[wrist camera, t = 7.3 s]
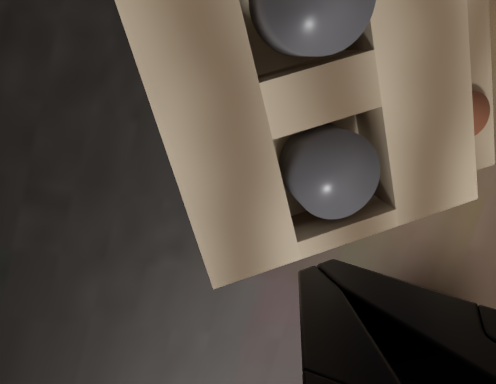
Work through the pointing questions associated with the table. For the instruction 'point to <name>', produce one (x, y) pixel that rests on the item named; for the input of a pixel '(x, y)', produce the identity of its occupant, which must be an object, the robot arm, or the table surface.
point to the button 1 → (330, 170)
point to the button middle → (310, 24)
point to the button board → (312, 119)
